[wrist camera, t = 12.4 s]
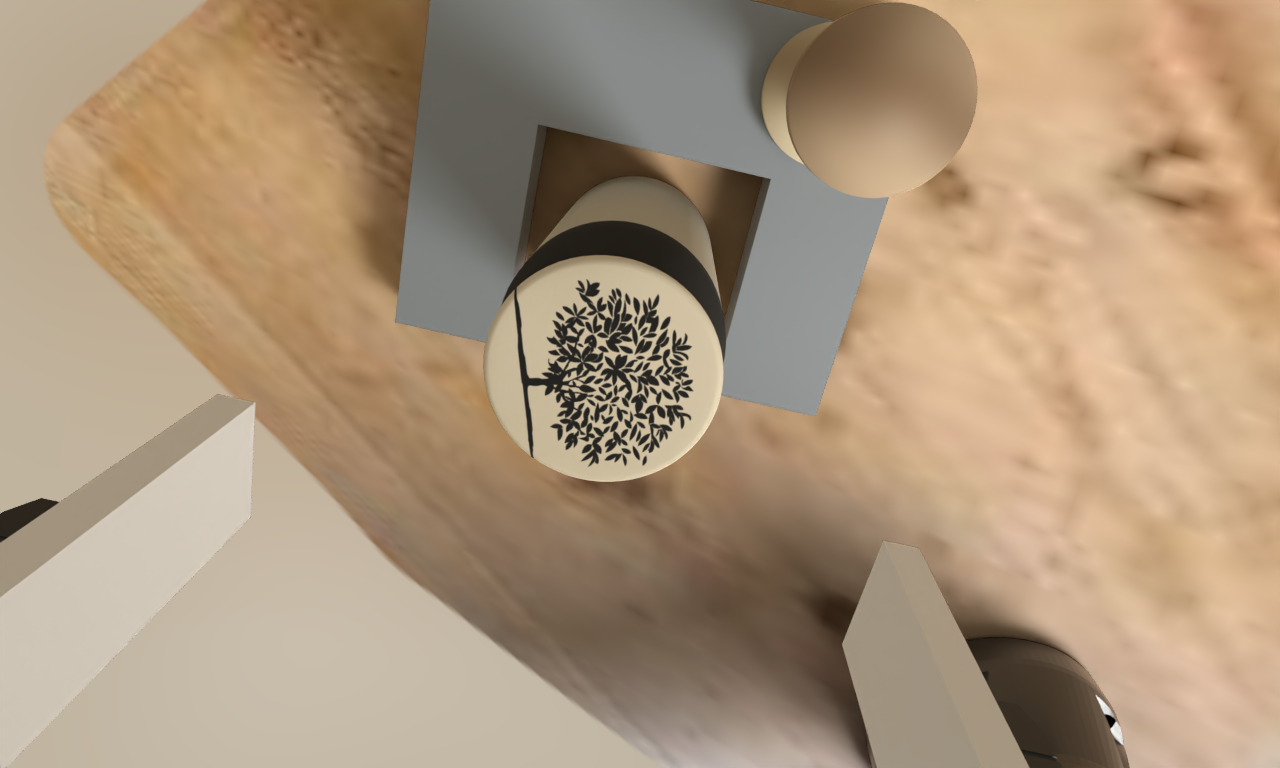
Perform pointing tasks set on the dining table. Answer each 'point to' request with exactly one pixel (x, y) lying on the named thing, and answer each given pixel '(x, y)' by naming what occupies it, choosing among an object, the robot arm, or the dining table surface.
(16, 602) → the robot arm
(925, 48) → the birch bobbin
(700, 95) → the notched board
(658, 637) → the dining table surface
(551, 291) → the travel mug
